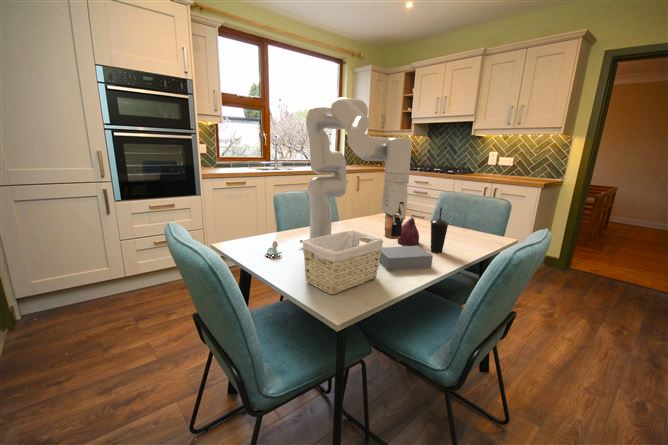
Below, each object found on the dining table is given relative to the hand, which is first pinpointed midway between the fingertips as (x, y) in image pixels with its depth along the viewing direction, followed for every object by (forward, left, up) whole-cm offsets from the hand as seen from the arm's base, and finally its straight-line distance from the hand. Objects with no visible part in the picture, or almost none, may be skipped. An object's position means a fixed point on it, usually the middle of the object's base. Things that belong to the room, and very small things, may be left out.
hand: (392, 233), depth 101 cm
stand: (+12, +15, -17) cm, 26 cm away
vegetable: (+26, +40, -18) cm, 51 cm away
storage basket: (-15, +4, -18) cm, 24 cm away
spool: (0, 0, -1) cm, 1 cm away
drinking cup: (+33, +26, -18) cm, 45 cm away
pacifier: (-38, +32, -18) cm, 53 cm away
